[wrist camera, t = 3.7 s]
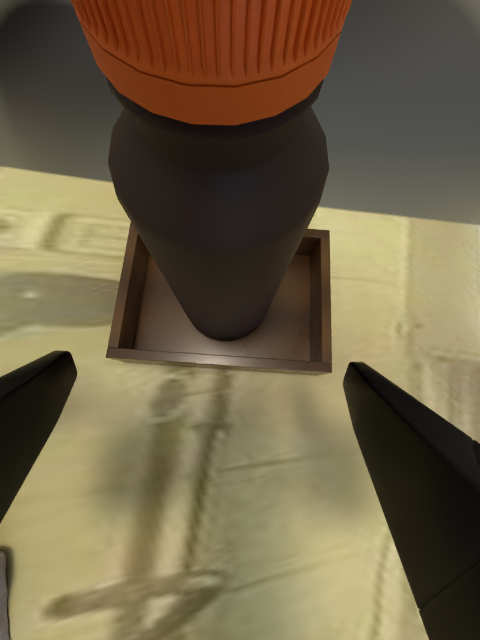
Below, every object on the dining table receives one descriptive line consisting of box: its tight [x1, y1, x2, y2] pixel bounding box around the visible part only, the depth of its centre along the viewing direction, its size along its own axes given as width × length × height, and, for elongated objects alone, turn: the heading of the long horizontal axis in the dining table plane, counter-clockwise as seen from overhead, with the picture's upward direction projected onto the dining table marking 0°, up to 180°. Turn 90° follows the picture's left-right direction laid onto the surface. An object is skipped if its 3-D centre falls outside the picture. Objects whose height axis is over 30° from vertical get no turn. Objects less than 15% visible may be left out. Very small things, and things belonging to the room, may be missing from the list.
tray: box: [106, 222, 332, 375], centre depth 21 cm, size 11×15×3 cm
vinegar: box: [71, 0, 352, 341], centre depth 13 cm, size 7×7×20 cm
